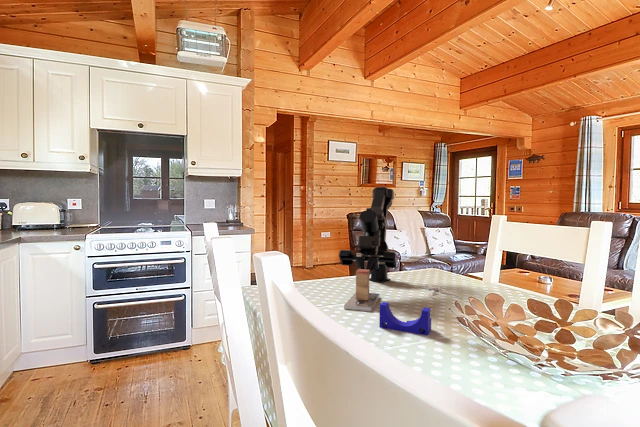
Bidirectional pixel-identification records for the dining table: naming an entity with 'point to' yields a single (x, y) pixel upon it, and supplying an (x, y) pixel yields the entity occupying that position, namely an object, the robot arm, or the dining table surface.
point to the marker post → (362, 284)
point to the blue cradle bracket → (415, 326)
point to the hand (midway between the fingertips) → (364, 280)
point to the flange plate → (362, 303)
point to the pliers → (435, 288)
